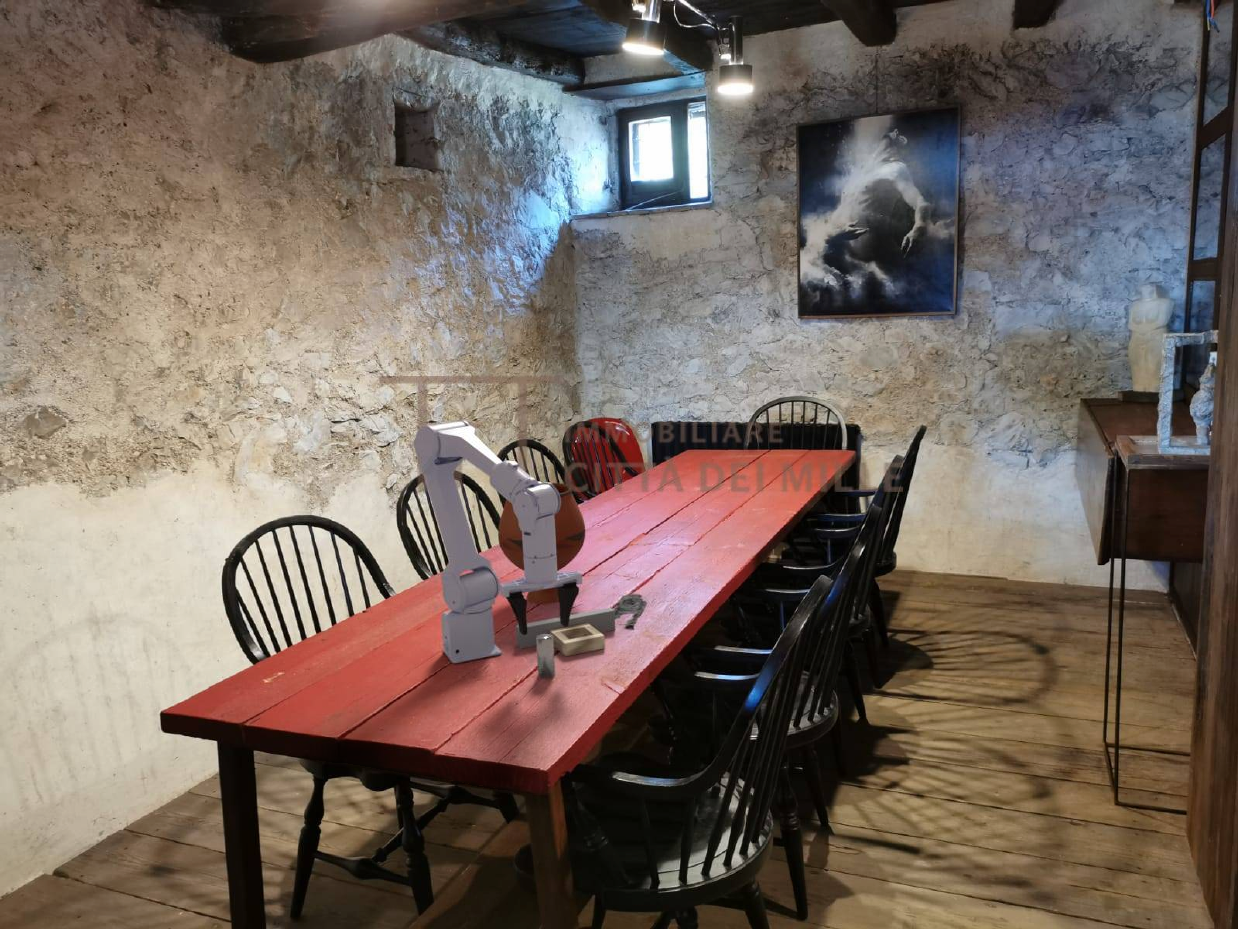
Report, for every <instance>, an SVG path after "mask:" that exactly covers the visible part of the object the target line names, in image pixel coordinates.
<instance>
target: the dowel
mask: <svg viewBox="0 0 1238 929" xmlns="http://www.w3.org/2000/svg"><path fill="white" fill-rule="evenodd" d="M554 648H555V646H554V644H553V635H550V634H541V635H538V636H537V637H536V660H537V676H538V677H539V678H542V679H549V678H550V679H551V678H552V677H554V676H556V666H555V664H556V663H555V650H554Z"/></svg>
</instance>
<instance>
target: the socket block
mask: <svg viewBox="0 0 1238 929" xmlns="http://www.w3.org/2000/svg"><path fill="white" fill-rule="evenodd" d="M550 635H553V644H554V648H556V649H557V650H558V651H559V652H560V653H561V654H562V655H564V657H570V656H575V655H579V654H584V653H589V652H593V651H597V650H601V649H602V650H603V649H605V648H606V645H605V642H606V640H605V635H604V634H603V632H601V633H600V632H599V631H598V630H596V629H595V628H594V627H592V626H591V625H590V624H588V623H586V624H581V625H575V626H570V627H565V628H560V629H555V630H550Z"/></svg>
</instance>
